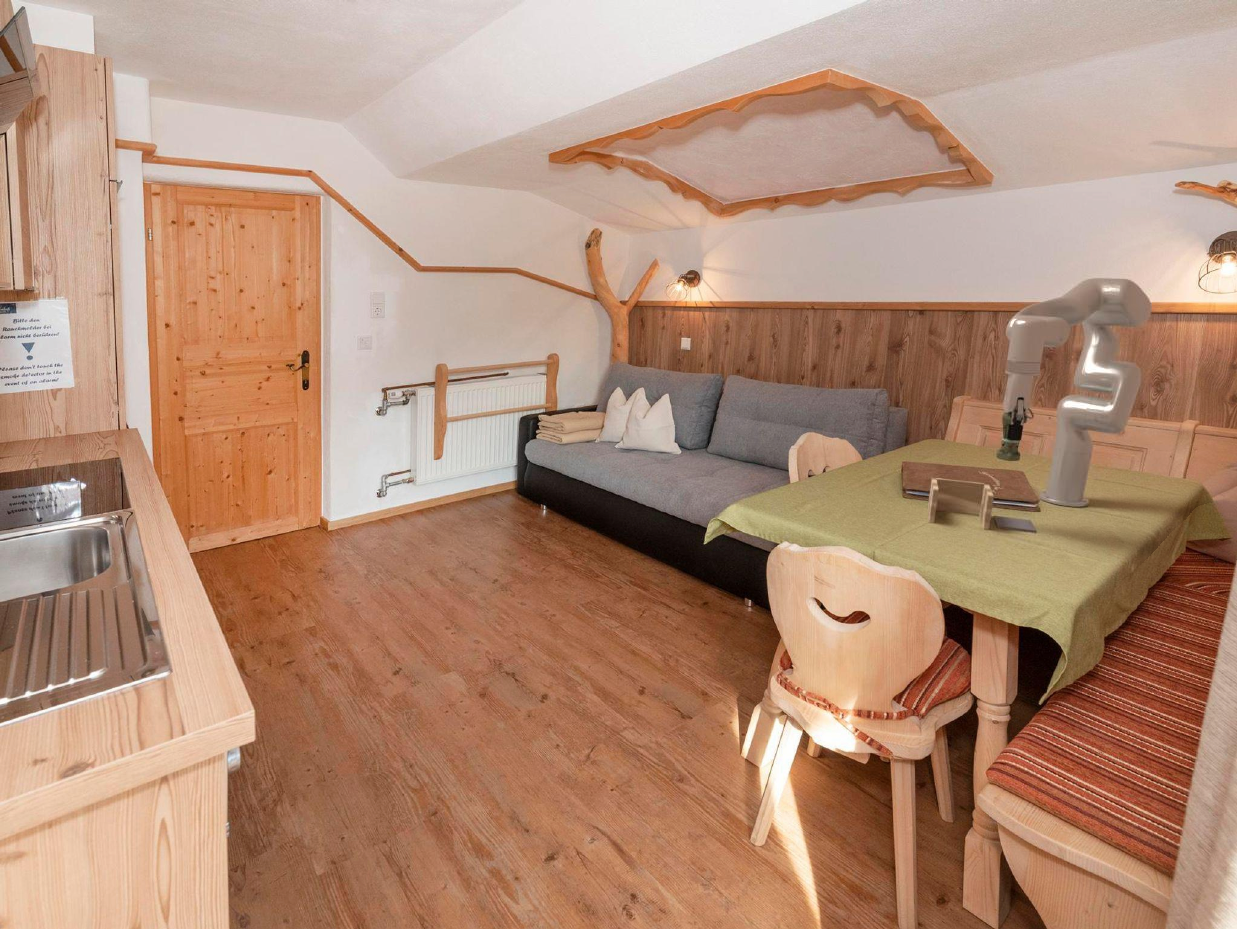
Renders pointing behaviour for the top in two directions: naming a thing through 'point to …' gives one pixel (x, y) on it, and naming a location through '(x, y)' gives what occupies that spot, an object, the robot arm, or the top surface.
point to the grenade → (1010, 446)
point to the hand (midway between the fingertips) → (1012, 436)
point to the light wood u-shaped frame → (961, 499)
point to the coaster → (1014, 524)
